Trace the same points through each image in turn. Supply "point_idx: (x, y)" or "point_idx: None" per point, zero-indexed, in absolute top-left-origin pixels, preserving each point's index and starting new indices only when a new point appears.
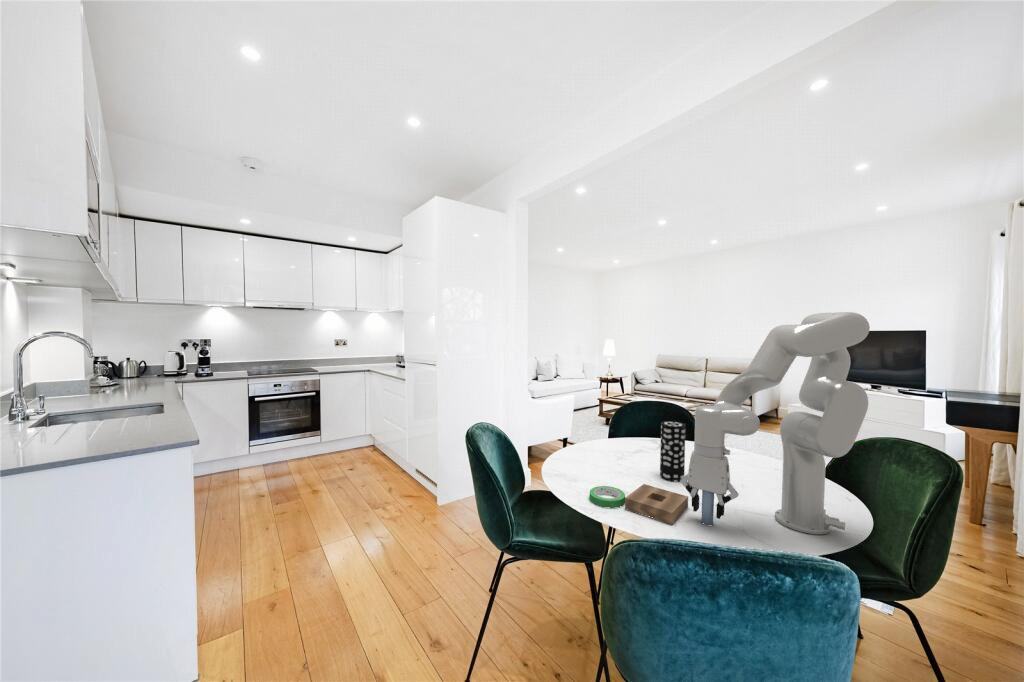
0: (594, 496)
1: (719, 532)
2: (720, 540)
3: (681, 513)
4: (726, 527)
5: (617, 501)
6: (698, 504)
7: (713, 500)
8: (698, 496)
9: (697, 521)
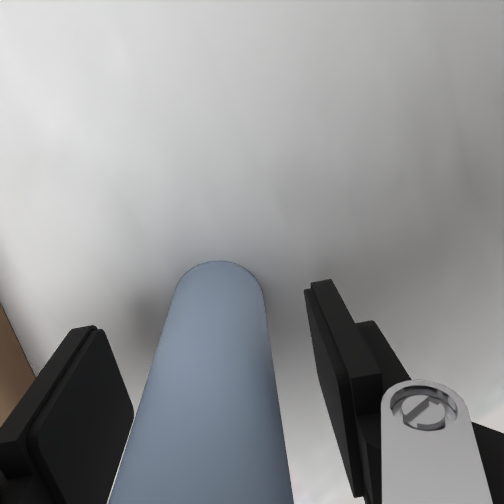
0: None
1: None
2: None
3: (12, 349)
4: (351, 245)
5: None
6: (93, 378)
7: (290, 485)
8: (50, 472)
9: (157, 336)
